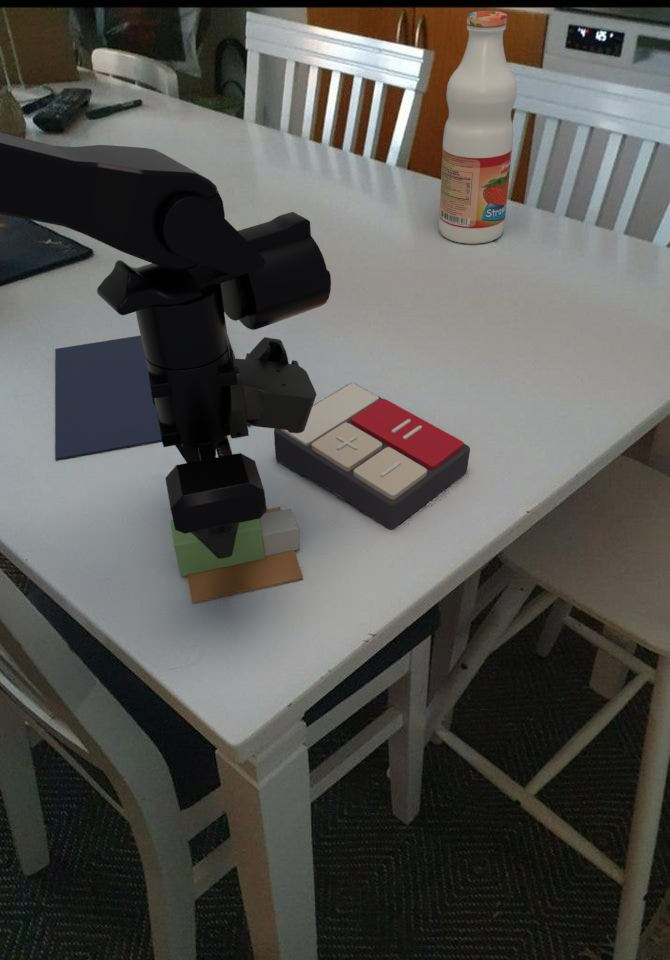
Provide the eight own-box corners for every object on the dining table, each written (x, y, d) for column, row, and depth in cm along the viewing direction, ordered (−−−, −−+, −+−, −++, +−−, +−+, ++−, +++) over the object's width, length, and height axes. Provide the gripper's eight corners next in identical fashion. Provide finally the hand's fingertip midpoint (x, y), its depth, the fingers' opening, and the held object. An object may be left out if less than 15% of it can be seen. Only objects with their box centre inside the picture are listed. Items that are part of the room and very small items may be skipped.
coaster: (192, 603, 64) (191, 601, 64) (179, 529, 71) (178, 526, 70) (303, 579, 66) (302, 577, 65) (280, 509, 72) (279, 506, 72)
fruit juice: (443, 217, 123) (455, 6, 105) (506, 222, 121) (529, 7, 103) (433, 242, 116) (443, 21, 98) (499, 247, 114) (522, 22, 96)
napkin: (55, 460, 79) (55, 458, 79) (55, 350, 95) (55, 348, 95) (257, 424, 83) (256, 421, 82) (223, 324, 99) (223, 322, 99)
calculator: (393, 500, 67) (271, 422, 75) (391, 536, 70) (273, 458, 78) (473, 440, 73) (352, 374, 81) (468, 476, 76) (351, 409, 84)
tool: (181, 576, 66) (174, 546, 64) (176, 550, 68) (169, 519, 66) (300, 551, 68) (298, 520, 65) (292, 526, 70) (289, 495, 68)
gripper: (336, 400, 50) (343, 577, 60) (274, 274, 64) (288, 434, 74) (153, 433, 48) (192, 610, 58) (131, 295, 62) (165, 456, 72)
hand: (215, 517), depth 65 cm, fingers open, 9 cm apart
